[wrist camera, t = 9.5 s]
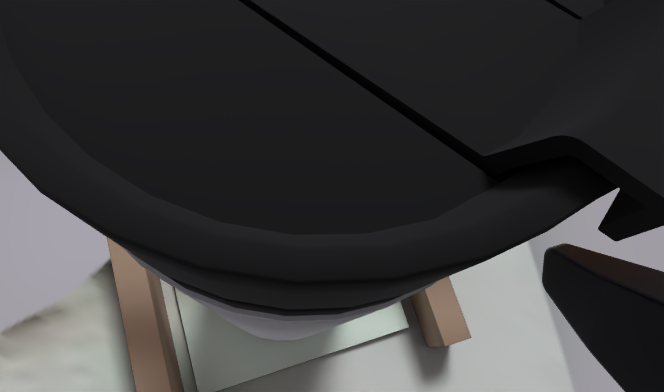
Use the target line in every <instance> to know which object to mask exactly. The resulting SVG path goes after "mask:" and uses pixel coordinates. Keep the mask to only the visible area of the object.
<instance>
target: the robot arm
mask: <svg viewBox="0 0 664 392" xmlns="http://www.w3.org/2000/svg"><path fill="white" fill-rule="evenodd" d="M542 283H543V286H544V288H545V290H546V292H547V293H548V295H549V296H550V298H551V299H552V300H553V302H554V303H555V304H556V306H557V307H558V309H559V310H560V311H561V313H562V314H563V316H564V317H565V318H566V320H567V321H568V323H569V324H570V325H571V327H572V328H573V329H574V331H575V332H576V334H577V335H578V336H579V338H580V339H581V341H582V342H583V343H584V344H585V346H586V347H587V348H588V350H589V351H590V352H591V353H592V355H593V356H594V357H595V358H596V359H597V361H598V362H599V363H600V364H601V365H602V366H603V367H604V368H605V369H606V371H607V372H608V373H609V374H610V375H611V376H612V377H613V379H614V380H615V381H616V382H617V383H618V384H619V385H620V387H622V389H623V390H624V391H625V392H664V272H662V271H659V270H655V269H652V268H648V267H645V266H642V265H638V264H635V263H632V262H628V261H625V260H621V259H618V258H614V257H611V256H608V255H604V254H601V253H597V252H594V251H591V250H587V249H584V248H580V247H577V246H573V245H570V244H560V245H557V246H553V247H550V248H548V249H547V250H546V252H545V254H544V263H543V273H542Z"/></svg>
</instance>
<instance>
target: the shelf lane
mask: <svg viewBox="0 0 664 392" xmlns="http://www.w3.org/2000/svg"><path fill="white" fill-rule="evenodd" d="M107 240H108V246H109V251H110V256H111V261H112V267H113V272H114V277H115V282H116V287H117V292H118V298H119V303H120V308H121V313H122V318H123V323H124V329H125V334H126V339H127V344H128V349H129V354H130V360H131V365H132V370H133V375H134V380H135V385H136V391H137V392H184V389H183V384H182V380H181V375H180V371H179V366H178V361H177V357H176V352H175V348H174V343H173V338H172V334H171V329H170V325H169V320H168V315H167V311H166V306H165V302H164V297H163V292H162V288H161V283H160V279H159V277H158V276H156V275H154V274H153V273H151V272H150V271H148V270H147V269H145V268H144V267H142V266H141V265H139V264H138V263H137V262H136V260H135V259H134V258H133V257H132V256H131V255H130V254H129V253H128V252H127V251H126V250H125V249H124V248H123V247H121V246H120V245H118V244H117V243H115V242H114V241H112V240H111V239H109V238H108V237H107ZM175 291H176V296H177V300H178V305H179V309H180V313H181V318H182V322H183V327H184V331H185V336H186V340H187V345H188V349H189V354H190V358H191V362H192V367H193V371H194V376H195V380H196V385H197V389H198V392H216V391H219V390H222V389H225V388H228V387H231V386H234V385H237V384H240V383H243V382H246V381H249V380H252V379H255V378H258V377H261V376H264V375H267V374H270V373H273V372H276V371H279V370H282V369H285V368H288V367H291V366H294V365H297V364H300V363H303V362H306V361H309V360H312V359H315V358H318V357H321V356H324V355H327V354H330V353H333V352H336V351H339V350H342V349H345V348H348V347H351V346H354V345H357V344H360V343H363V342H366V341H369V340H372V339H375V338H378V337H381V336H384V335H387V334H390V333H393V332H396V331H399V330H402V329H405V328H408V327H409V325H408V322H407V319H406V317H405V314H404V311H403V308H402V305H401V302H400V301H399V302H397V303H395V304H393V305H391V306H389V307H387V308H384V309H381V310H378V311H375V312H373V313H371V314H368V315H365V316H363V317H360V318H357V319H354V320H352V321H349V322H346V323H344V324H341V325H338V326H336V327H333V328H330V329H327V330H325V331H322V332H319V333H317V334H314V335H311V336H309V337H306V338H302V339H298V340H294V341H283V342H276V341H270V340H264V339H261V338H258V337H256V336H253V335H251V334H249V333H247V332H246V331H244V330H242V329H241V328H239V327H237V326H236V325H234V324H233V323H231V322H229V321H228V320H226V319H224V318H223V317H221V316H220V315H218V314H216V313H215V312H213V311H211V310H210V309H208V308H206V307H205V306H203V305H202V304H200V303H198V302H197V301H195V300H194V299H192V298H190V297H189V296H187V295H185V294H184V293H182V292H181V291H179V290H178V289H176V288H175ZM410 298H411V301H412V304H413V307H414V310H415V313H416V316H417V318H418V321H419V324H420V327H421V330H422V333H423V336H424V338H425V341H426V344H427V347H446V346H449V345H452V344H455V343H457V342H460V341H463V340H466V339H469V338H471V335H470V332H469V329H468V327H467V324H466V321H465V319H464V316H463V313H462V311H461V308H460V305H459V303H458V300H457V297H456V295H455V292H454V289H453V287H452V284H451V281H450V279H449V276H448V277H445V278H443V279H441V280H438V281H437V282H436V283H434V284H433V285H432V286H430V287H428V288H426V289H424V290H422V291H420V292H418V293H416V294H414V295H412V296H410Z"/></svg>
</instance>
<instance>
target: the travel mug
mask: <svg viewBox="0 0 664 392" xmlns="http://www.w3.org/2000/svg"><path fill="white" fill-rule="evenodd" d="M0 150H1V151H2V152H3V153H4V155H5V156H6V157H7V158H8V159H9V160H10V161H11V162H12V163H13V164H14V165H15V166H16V167H17V168H18V169H19V170H20V171H21V172H22V173H23V174H24V175H25V177H26V178H27V179H28V180H29V181H30V182H31V183H32V184H33V185H34V186H35V187H36V188H37V189H38V190H39V191H40V192H41V193H42V194H44V195H45V196H47V197H48V198H50V199H51V200H53V201H54V202H56V203H57V204H59V205H60V206H62V207H63V208H65V209H66V210H68V211H69V212H70V213H72V214H73V215H75V216H76V217H78V218H79V219H81V220H83V221H84V222H85V223H87V224H88V225H90V226H92V227H93V228H94V229H96V230H97V231H99V232H100V233H102V234H103V235H105V236H106V237H108V238H109V239H111V240H112V241H114V242H115V243H117V244H118V245H120V246H121V247H123V248H124V249H125V250H126V251H127V252H128V253H129V254H130V255H131V256H132V257H133V258H134V259H135V260H136V262H137V263H138V264H139V265H141V266H142V267H144V268H145V269H147V270H148V271H150V272H151V273H153V274H154V275H156V276H158V277H159V278H161V279H162V280H164V281H165V282H167V283H168V284H170V285H171V286H173V287H174V288H176V289H178V290H179V291H181V292H182V293H184V294H185V295H187V296H189V297H190V298H192V299H194V300H195V301H197V302H198V303H200V304H202V305H203V306H205V307H206V308H208V309H210V310H211V311H213V312H215V313H216V314H218V315H220V316H221V317H223V318H224V319H226V320H228V321H229V322H231V323H233V324H234V325H236V326H237V327H239V328H241V329H242V330H244V331H246V332H247V333H249V334H251V335H253V336H256V337H258V338H261V339H264V340H270V341H276V342H283V341H294V340H298V339H302V338H306V337H309V336H311V335H314V334H317V333H319V332H322V331H325V330H327V329H330V328H333V327H336V326H338V325H341V324H344V323H346V322H349V321H352V320H354V319H357V318H360V317H363V316H365V315H368V314H371V313H373V312H375V311H378V310H381V309H384V308H387V307H389V306H391V305H393V304H395V303H397V302H399V301H401V300H403V299H406V298H408V297H410V296H412V295H414V294H416V293H418V292H420V291H422V290H424V289H426V288H428V287H430V286H432V285H433V284H434V283H436V282H437V281H438V280H441V279H443V278H445V277H448V276H450V275H452V274H454V273H457V272H459V271H462V270H464V269H467V268H469V267H472V266H474V265H477V264H479V263H482V262H484V261H486V260H488V259H491V258H493V257H495V256H497V255H499V254H501V253H503V252H505V251H507V250H509V249H511V248H513V247H516V246H518V245H520V244H522V243H524V242H526V241H528V240H530V239H532V238H534V237H536V236H538V235H540V234H543V233H545V232H547V231H548V230H550V229H551V228H553V227H555V226H556V225H558V224H559V223H561V222H562V221H564V220H565V219H567V218H568V217H570V216H571V215H573V214H575V213H576V212H578V211H579V210H580V209H582V208H584V207H585V206H587V205H588V204H590V203H592V202H593V201H595V200H596V199H598V198H600V197H602V196H604V195H605V194H607V193H609V192H611V191H613V190H615V189H616V188H618V187H619V188H620V191H619V192H618V194H617V196H616V198H615V200H614V201H613V203H612V205H611V206H610V208H609V210H608V212H607V213H606V215H605V217H604V219H603V220H602V222H601V224H600V226H599V227H598V229H599V231H601V232H602V233H604V234H605V235H607V236H608V237H610V238H611V239H612V240H614V241H619V240H622V239H625V238H628V237H631V236H634V235H637V234H640V233H643V232H646V231H649V230H652V229H655V228H658V227H660V226H664V0H0Z"/></svg>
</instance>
